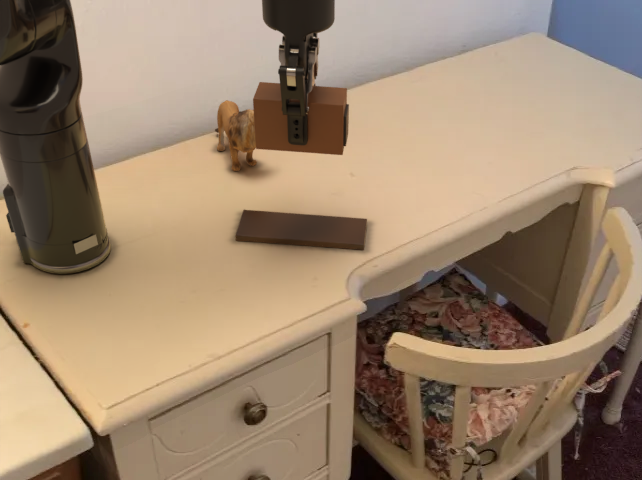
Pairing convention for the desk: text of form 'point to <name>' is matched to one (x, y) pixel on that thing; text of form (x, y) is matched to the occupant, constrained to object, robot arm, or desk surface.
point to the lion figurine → (236, 132)
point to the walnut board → (302, 229)
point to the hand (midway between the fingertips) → (301, 132)
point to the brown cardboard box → (323, 120)
